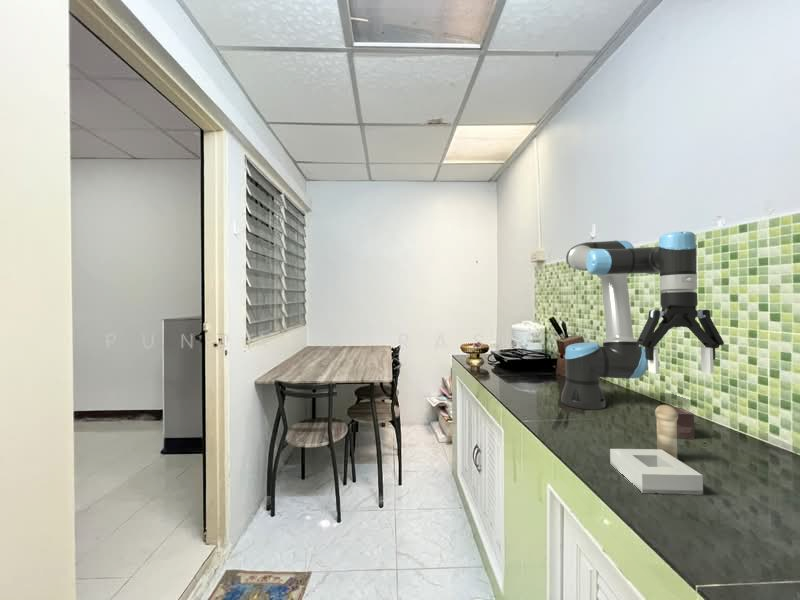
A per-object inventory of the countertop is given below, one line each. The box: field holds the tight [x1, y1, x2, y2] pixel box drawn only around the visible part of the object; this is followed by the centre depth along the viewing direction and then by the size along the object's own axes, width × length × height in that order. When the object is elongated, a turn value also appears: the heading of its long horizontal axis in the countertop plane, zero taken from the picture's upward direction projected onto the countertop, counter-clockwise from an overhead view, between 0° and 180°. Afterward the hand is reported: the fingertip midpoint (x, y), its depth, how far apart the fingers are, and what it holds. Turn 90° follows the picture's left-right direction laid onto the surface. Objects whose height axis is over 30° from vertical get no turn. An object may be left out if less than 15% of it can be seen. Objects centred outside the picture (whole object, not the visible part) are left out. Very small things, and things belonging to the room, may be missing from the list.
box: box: [673, 407, 696, 440], centre depth 100 cm, size 6×6×7 cm
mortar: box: [609, 448, 704, 495], centre depth 76 cm, size 12×12×4 cm
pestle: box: [654, 404, 678, 459], centre depth 85 cm, size 5×5×14 cm
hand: (680, 372), depth 88 cm, fingers open, 13 cm apart
